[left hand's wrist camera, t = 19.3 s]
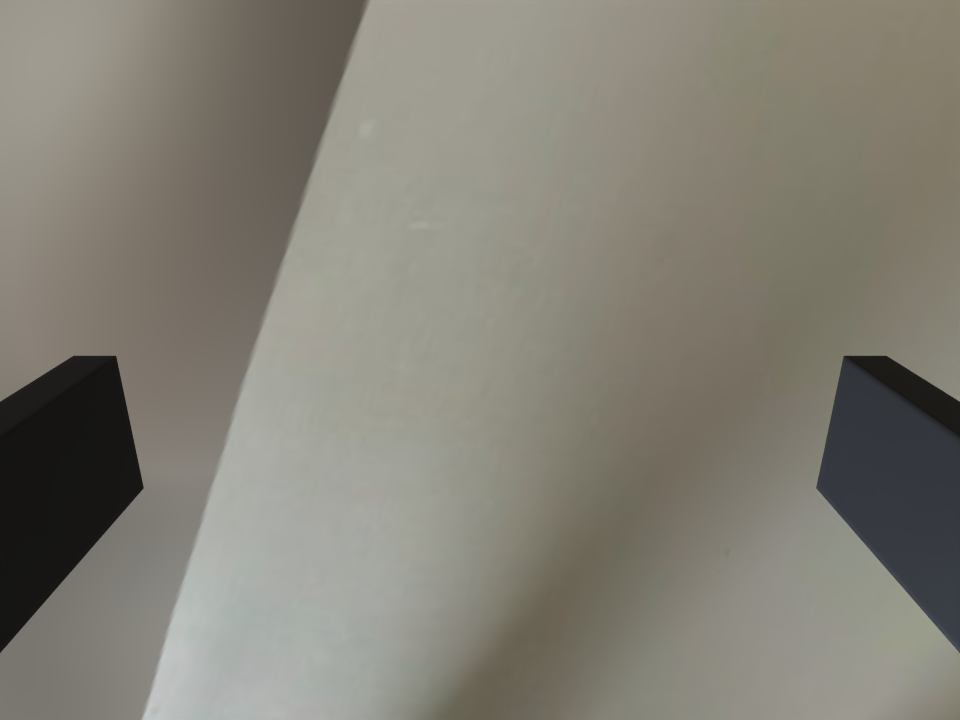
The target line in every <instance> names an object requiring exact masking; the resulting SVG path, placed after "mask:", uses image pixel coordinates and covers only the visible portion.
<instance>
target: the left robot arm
mask: <svg viewBox="0 0 960 720" xmlns="http://www.w3.org/2000/svg"><path fill="white" fill-rule="evenodd" d="M816 488H817V489H818V491H819V492H820V493H821V494H822V495H823V496H824V497H825V499H826V500H827V501H828V502H829V503H830V504H831V505H832V507H833V508H834V509H835V510H836V511H837V512H838V514H839V515H840V516H841V517H842V518H843V519H844V520H845V522H846V523H847V524H848V525H849V526H850V527H851V528H852V530H853V531H854V532H855V533H856V534H857V535H858V537H859V538H860V539H861V540H862V541H863V542H864V543H865V545H866V546H867V547H868V548H869V549H870V550H871V551H872V553H873V554H874V555H875V556H876V557H877V558H878V559H879V561H880V562H881V563H882V564H883V565H884V566H885V568H886V569H887V570H888V571H889V572H890V573H891V574H892V576H893V577H894V578H895V579H896V580H897V581H898V582H899V584H900V585H901V586H902V587H903V588H904V589H905V591H906V592H907V593H908V594H909V595H910V596H911V597H912V599H913V600H914V601H915V602H916V603H917V604H918V605H919V607H920V608H921V609H922V610H923V611H924V612H925V613H926V615H927V616H928V617H929V618H930V619H931V620H932V622H933V623H934V624H935V625H936V626H937V627H938V628H939V630H940V631H941V632H942V633H943V634H944V635H945V636H946V638H947V639H948V640H949V641H950V642H951V643H952V645H953V646H954V647H955V648H956V649H957V650H958V651H959V653H960V402H959V401H958V400H956V399H954V398H953V397H951V396H950V395H948V394H946V393H945V392H943V391H942V390H940V389H938V388H937V387H935V386H934V385H932V384H930V383H929V382H927V381H926V380H924V379H922V378H921V377H919V376H918V375H916V374H914V373H913V372H911V371H910V370H908V369H907V368H905V367H903V366H902V365H900V364H899V363H897V362H895V361H894V360H892V359H891V358H889V357H887V356H844V358H843V363H842V368H841V372H840V377H839V382H838V387H837V392H836V396H835V401H834V406H833V411H832V415H831V420H830V425H829V430H828V435H827V439H826V444H825V449H824V454H823V459H822V463H821V468H820V473H819V478H818V483H817V487H816ZM142 489H143V483H142V478H141V473H140V468H139V463H138V459H137V454H136V449H135V444H134V439H133V435H132V430H131V425H130V420H129V416H128V411H127V406H126V401H125V396H124V392H123V387H122V382H121V377H120V372H119V368H118V363H117V358H116V356H73V357H71V358H69V359H68V360H66V361H65V362H63V363H61V364H60V365H58V366H57V367H55V368H53V369H52V370H50V371H49V372H47V373H46V374H44V375H42V376H41V377H39V378H38V379H36V380H34V381H33V382H31V383H30V384H28V385H26V386H25V387H23V388H22V389H20V390H18V391H17V392H15V393H14V394H12V395H10V396H9V397H7V398H6V399H4V400H2V401H1V402H0V652H1V651H2V650H3V649H4V648H5V647H6V646H7V645H8V643H9V642H10V641H11V640H12V639H13V638H14V636H15V635H16V634H17V633H18V632H19V631H20V630H21V628H22V627H23V626H24V625H25V624H26V623H27V621H28V620H29V619H30V618H31V617H32V616H33V615H34V613H35V612H36V611H37V610H38V609H39V608H40V607H41V605H42V604H43V603H44V602H45V601H46V600H47V599H48V597H49V596H50V595H51V594H52V593H53V592H54V590H55V589H56V588H57V587H58V586H59V585H60V584H61V582H62V581H63V580H64V579H65V578H66V577H67V575H68V574H69V573H70V572H71V571H72V570H73V569H74V568H75V566H76V565H77V564H78V563H79V562H80V561H81V559H82V558H83V557H84V556H85V555H86V554H87V553H88V551H89V550H90V549H91V548H92V547H93V546H94V545H95V543H96V542H97V541H98V540H99V539H100V538H101V537H102V535H103V534H104V533H105V532H106V531H107V530H108V528H109V527H110V526H111V525H112V524H113V523H114V522H115V520H116V519H117V518H118V517H119V516H120V515H121V514H122V512H123V511H124V510H125V509H126V508H127V507H128V505H129V504H130V503H131V502H132V501H133V500H134V499H135V497H136V496H137V495H138V494H139V493H140V492H141V490H142Z"/></svg>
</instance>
